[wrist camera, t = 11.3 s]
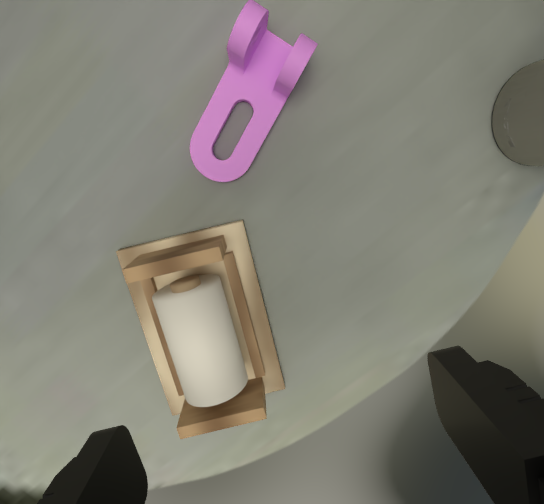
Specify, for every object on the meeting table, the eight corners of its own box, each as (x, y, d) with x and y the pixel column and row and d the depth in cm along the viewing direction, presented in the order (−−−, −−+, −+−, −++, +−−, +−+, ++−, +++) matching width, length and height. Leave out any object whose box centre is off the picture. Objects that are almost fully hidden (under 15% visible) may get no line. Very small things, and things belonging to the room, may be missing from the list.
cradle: (242, 219, 36) (240, 231, 30) (284, 383, 40) (289, 420, 35) (119, 249, 36) (94, 266, 30) (174, 409, 40) (161, 451, 35)
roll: (159, 278, 36) (141, 301, 30) (220, 263, 36) (214, 283, 30) (192, 380, 39) (181, 419, 33) (249, 366, 39) (249, 403, 33)
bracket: (251, 25, 32) (251, -10, 26) (307, 62, 33) (321, 37, 27) (181, 161, 35) (164, 161, 28) (235, 192, 36) (231, 199, 29)
